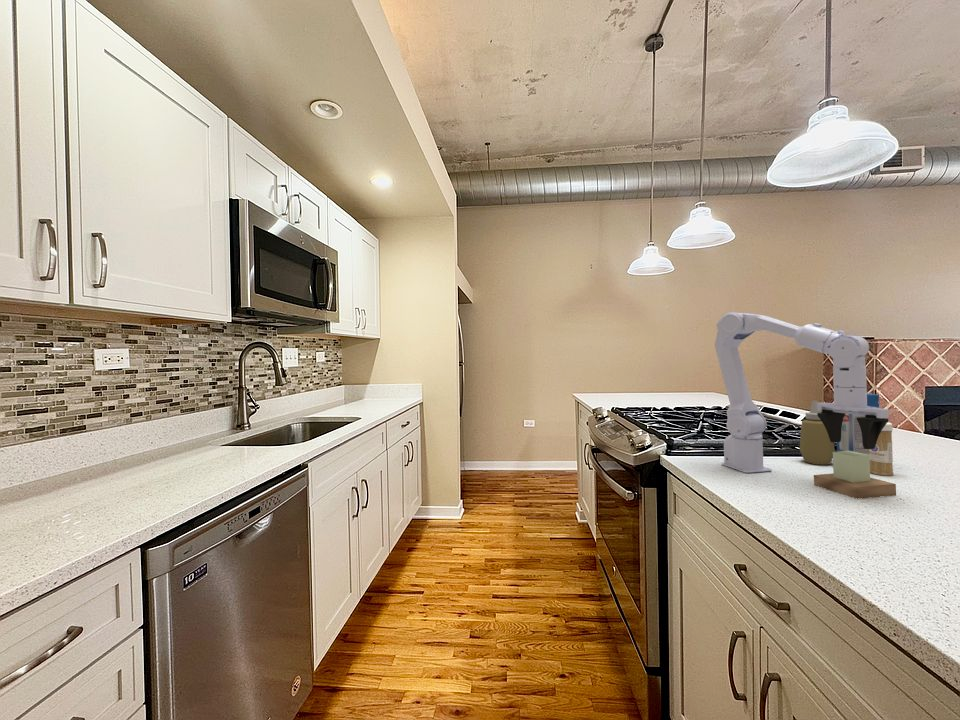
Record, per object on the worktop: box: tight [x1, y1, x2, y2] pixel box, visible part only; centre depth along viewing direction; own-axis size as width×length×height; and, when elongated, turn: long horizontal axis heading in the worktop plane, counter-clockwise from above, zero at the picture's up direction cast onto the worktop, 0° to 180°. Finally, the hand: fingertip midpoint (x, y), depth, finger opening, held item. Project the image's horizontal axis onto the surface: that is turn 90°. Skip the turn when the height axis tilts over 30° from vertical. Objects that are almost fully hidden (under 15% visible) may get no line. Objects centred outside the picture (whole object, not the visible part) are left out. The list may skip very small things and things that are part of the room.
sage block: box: [832, 451, 871, 483], centre depth 95 cm, size 4×4×6 cm
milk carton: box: [836, 392, 880, 455], centre depth 117 cm, size 10×6×20 cm, turn 157°
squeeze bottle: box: [798, 400, 836, 466], centre depth 118 cm, size 8×8×18 cm
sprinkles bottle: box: [869, 421, 894, 477], centre depth 106 cm, size 5×5×14 cm
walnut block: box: [813, 472, 897, 500], centre depth 95 cm, size 10×10×3 cm
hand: (851, 445), depth 95 cm, fingers open, 7 cm apart
